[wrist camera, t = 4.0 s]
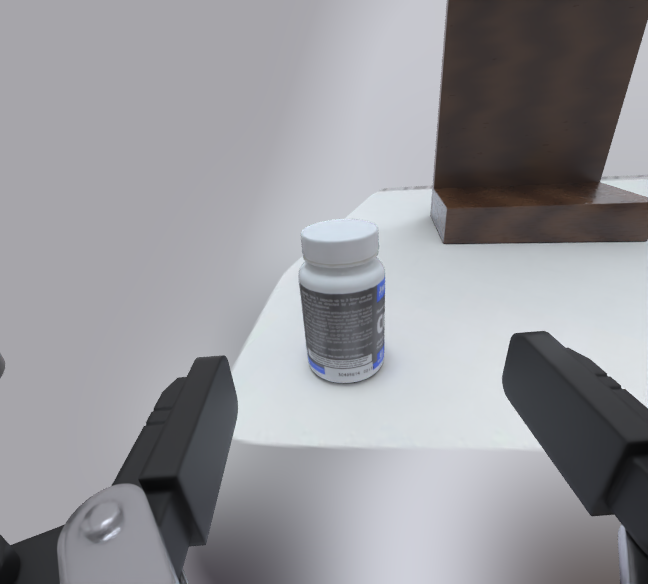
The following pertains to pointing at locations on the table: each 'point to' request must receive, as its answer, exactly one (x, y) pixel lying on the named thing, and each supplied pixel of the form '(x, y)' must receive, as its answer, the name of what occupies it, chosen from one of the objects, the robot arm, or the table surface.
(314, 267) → the pill bottle
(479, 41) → the shelf
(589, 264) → the table surface
